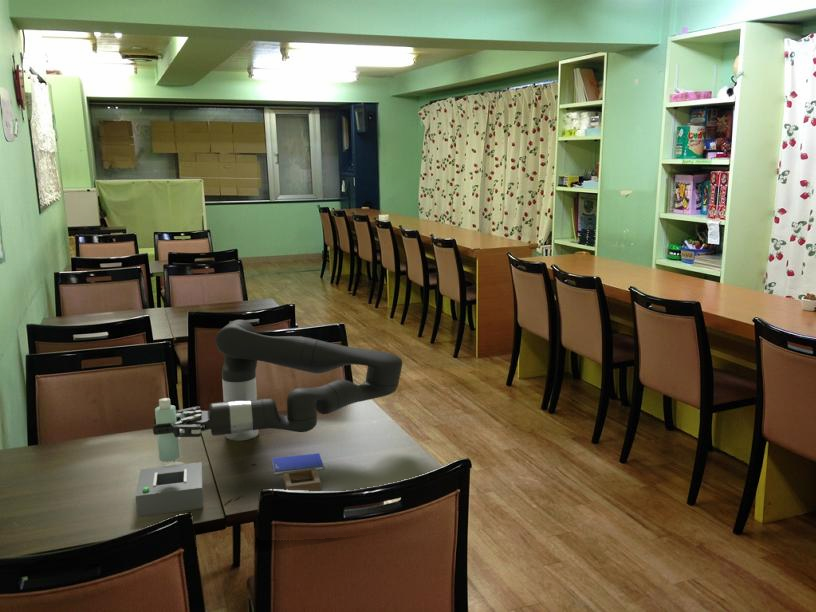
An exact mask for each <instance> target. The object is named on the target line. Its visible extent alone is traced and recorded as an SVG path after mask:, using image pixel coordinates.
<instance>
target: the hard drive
mask: <svg viewBox="0 0 816 612" xmlns="http://www.w3.org/2000/svg"><path fill="white" fill-rule="evenodd" d="M271 462H272V467H273V473H274V475H281V474H282V475H283V472H288V471H296V470H304V469H312V468H315V469H316V471H317V470H323V469H324V463H323V460H322V457H321V454H320V452H319V453H310V454H309V453H308V454H300V455H289V456H280V457H279V456H278V457H272V458H271Z"/></svg>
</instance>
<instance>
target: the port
mask: <svg viewBox="0 0 816 612" xmlns="http://www.w3.org/2000/svg"><path fill="white" fill-rule="evenodd" d="M135 502H136V503H135V504H136V513H137V518H139V516H141V517H145V516H146V517H147V515H148V516H154V515H162V514H168V513H169V514H170V513H176V512H183V511H184V512H186V511H191V510H196V509H198V510H199V509H204V476H203V462H202V461H200V462H191V463H190V462H189V463H184V464H181V465H172V466H165V465H164V466H158V467H157V466H156V467H150V468H149V467H148V468H141V469H140V472H139V476H138V482H137V488H136V492H135Z"/></svg>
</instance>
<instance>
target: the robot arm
mask: <svg viewBox="0 0 816 612" xmlns="http://www.w3.org/2000/svg"><path fill="white" fill-rule="evenodd" d="M255 329H256V328H254V325H252V324H251V323H250V322H249V321H247V320H244V319H235V320H233V321H231V322H229V323H228V324H226V325H225V326H224V327H222V328H220V330H219V331H218V332H217V334H216V337H215V346H216V348H217V350H218V351H219V352H220V353H221V354H222V355H224V363H223V365H222V370H221V380H222V395H223V396H222V397H223V402H212V403H210V404H209V410H201V406H192V407H188V408H182V409H178V410H177V409H176V420H177V422H173V423H171V424H170V423H165V424H156V416H155V417H154V419H153V423H154V424H153V426H152V431H153V432H152V434H153V435H154V436H157V435H159V434H168V433H172V434H174V437H182V438H200V437H202V432H206V431H208V430H210V431H211V436H213V437H214V436H215V437H216V436H217V437H218V436H223V435H224V436H225V437H226V439H228V440H231V441H245V440H246V441H248V440H251V439H254V438H255V437H257V436H258V435H259V430H267V429H272V430H274V429H275V430H283V431H289V432H294V433H295V432H296V433H307V432H310V431H312V430H313V429H314V428H315V427H316V425H317V423H318V415H317V412H318V413H319V414H322V415H329V414H331V413H333V412H335V411H338V410H340V409H343V408H344V407H347V406H349V405H352V404H356V403H360V402H365V401H370V400H374V399H377V398H379V399H380V398H383V397H386V396H390V395H392V394H394V393H395V392H396V391H397V389H398V387H399V382H400V377H401V375H402V374H401V373H402V368H403V360H402V359H401V357H400V356H399V355H396V354H394V353H392V352H387V351H380V350H375V349H366V348H360V347H359V348H358V347H352V346H347V345H341V344H336V343H332V342H328V341H324V340H320V339H315V338H312V337H305V336H300V335H299V336H298V335H297V336H296V335H295V336H294V335H292V336H291V335H290V336H289V335H287V336H271V335H270V336H269V335H264V334H261V333H257V332H256V330H255ZM258 361H259V362H264V363H268V364H272V365H277V366H281V367H286V368H290V369H294V370H297V371H302V372H307V373H311V374H316V375H317V374H324V373H328V372H331V371H334V370H337V369H339V368H341V367H344V366H350V365H351V366H353V365H359V366H366V367H367V370H366V375H365V381H364V382H362V383H361V384H359V385H358V384H356V383H354V382H353V381H350V380H346V379H338V380H334V381H331V382H329V383H326V384H324V385H322V386H316V387H297V388H294V389H292V390H291V391H290V392H289V393H288V394H287V396H286V410H287V411H286V412H287V413H286V415H283V414H280V413H279V410H278V406H277V402H276V401H275V400H274V399H273V398H262V399H258V398H257V397H258V394H257V393H258V392H257V375H256V372H257V371H256V370H257V365H258Z"/></svg>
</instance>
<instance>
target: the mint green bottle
mask: <svg viewBox="0 0 816 612" xmlns="http://www.w3.org/2000/svg"><path fill="white" fill-rule="evenodd" d="M176 411H177V409H176V406H175V405H172V404H171V399H170V398H169V397H164V398H163V397H162V398H159V399H158V406H156V408H155V409H154V414H155V417H156V424H165V423H170V424H171V423H173V422H177V420H176ZM156 438H157V445H158V459H159V461H160V462H165V463H166V462H168V463H170V462H173V461H174V460H175V461H177V460H178V459H179V458H180V447H179V444H180V443H179V440H178V437H174V434H172V433H168V434H159V435H156Z"/></svg>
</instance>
